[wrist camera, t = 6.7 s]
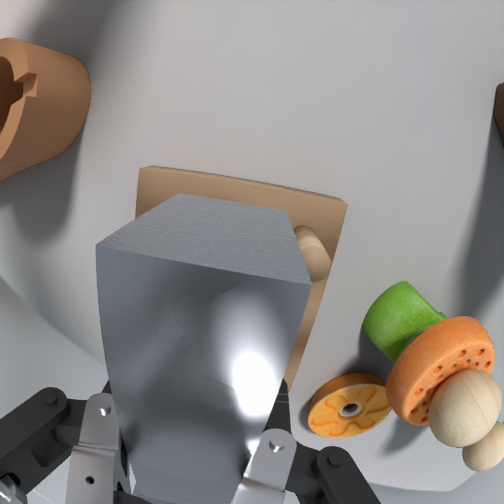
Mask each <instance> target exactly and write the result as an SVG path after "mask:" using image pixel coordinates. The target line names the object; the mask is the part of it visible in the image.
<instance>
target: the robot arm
mask: <svg viewBox="0 0 504 504" xmlns="http://www.w3.org/2000/svg"><path fill="white" fill-rule="evenodd" d="M70 455H71V459H70V466H69V474H68V482H67V492H66V504H152V503H150V502H148V501H146V500H144V499H142V498H140V497H137V496H134V495H131V488H130V481H129V458H128V455H127V451H126V448H125V445H124V441H123V438H122V434H121V430H120V426H119V422H118V418H117V414H116V410H115V406H114V401H113V397H112V392H111V387H110V382H109V380H108V382H107V384H106V385H105V387H104V389H103V391H102V392H101V393H98V394H95V395H92V396H91V397H90V398H89V399H88V400H75V399H67V398H66V395H65V394H64V393H63V391H61V390H60V389H58V388H53V387H48V388H44V389H42V390H40V391H39V392H38V393H36V394H35V395H33V396H32V397H31V398H29V399H28V400H27V401H25V402H24V403H22V404H21V405H20V406H18V407H17V408H15V409H14V410H13V411H11V412H10V413H8V414H7V415H6V416H4V417H3V418H1V419H0V504H27V502H28V501H27V496H26V495H27V494H28V493H29V492H30V491H31V490H32V489H33V488H34V487H36V486H37V485H38V484H39V483H40V482H41V481H42V480H44V479H45V478H46V477H47V476H48V475H49V474H50V473H51V472H53V471H54V470H55V469H56V468H57V467H58V466H59V465H60V464H62V463H63V462H64V461H65V460H66V459H67V458H68V457H69V456H70ZM284 490H287V491H290V492H294V493H295V494H296V496H297V497H298V500H299V502H300V504H381V503H380V502H379V500H378V498H377V497H376V495H375V494H374V492H373V491H372V489H371V487H370V486H369V484H368V483H367V481H366V479H365V478H364V476H363V475H362V473H361V472H360V470H359V468H358V467H357V465H356V464H355V462H354V460H353V459H352V457H351V456H350V454H349V453H348V452H347V451H346V450H344V449H342V448H340V447H336V446H329V447H325V448H323V449H322V450H321V451H319V450H315V449H312V448H309V447H306V446H303V445H302V444H300V443H299V442H297V441H296V440H295V438H294V437H293V435H292V433H291V425H290V411H289V398H288V385H287V383H286V381H285V380H284V378H283V379H282V382H281V385H280V388H279V391H278V393H277V396H276V399H275V402H274V404H273V407H272V410H271V413H270V415H269V418H268V420H267V423H266V426H265V428H264V431H263V433H262V436H261V439H260V441H259V444H258V446H257V449H256V451H255V453H254V456H251V459H250V461H249V464H248V466H247V468H246V471H245V473H244V475H243V478H242V480H241V482H240V485H239V487H238V489H237V491H236V494H235V496H234V498H233V500H232V502H231V504H283V502H284V498H285V491H284Z"/></svg>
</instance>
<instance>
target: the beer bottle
mask: <svg viewBox="0 0 504 504" xmlns="http://www.w3.org/2000/svg"><path fill="white" fill-rule="evenodd" d="M494 117H495V120H496V123H497V126H498V129H499V133H500V136H501V139H502V143H503V146H504V83H501V84H499V85H498V87H497V95H496V102H495V109H494Z"/></svg>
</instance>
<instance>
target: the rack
mask: <svg viewBox="0 0 504 504" xmlns="http://www.w3.org/2000/svg"><path fill="white" fill-rule="evenodd" d="M178 193H183V194H190V195H196V196H203V197H209V198H215V199H221V200H227V201H233V202H239V203H244V204H250V205H256V206H261V207H266V208H272V209H277V210H282V211H287V214H288V217H289V219H290V222H291V225H292V228H293V230H294V233H295V236H296V239H297V242H298V244H299V247H300V250H301V253H302V256H303V259H304V262H305V265H306V268H307V271H308V274H309V277H310V280H311V283H312V288H311V291H310V295H309V298H308V302H307V305H306V308H305V312H304V315H303V318H302V322H301V325H300V328H299V331H298V334H297V337H296V341H295V344H294V347H293V350H292V353H291V356H290V359H289V362H288V365H287V368H286V371H285V374H284V376H283V378H284V380H285V381H286V383H287V385H288V393H289V390H290V388H291V385H292V382H293V380H294V377H295V374H296V372H297V369H298V366H299V364H300V361H301V358H302V355H303V353H304V350H305V347H306V344H307V341H308V338H309V335H310V332H311V330H312V327H313V324H314V321H315V318H316V314H317V311H318V308H319V305H320V302H321V299H322V296H323V292H324V289H325V286H326V283H327V279H328V276H329V272H330V269H331V266H332V262H333V259H334V255H335V251H336V248H337V244H338V241H339V237H340V233H341V229H342V225H343V221H344V218H345V214H346V210H347V205H348V204H347V203H345V202H344V201H342V200H341V199H340V198H336V197H332V196H327V195H323V194H318V193H314V192H309V191H304V190H300V189H295V188H290V187H285V186H280V185H274V184H269V183H264V182H258V181H253V180H247V179H241V178H235V177H229V176H223V175H217V174H210V173H204V172H197V171H190V170H182V169H175V168H167V167H158V166H148V167H143V168H140V169H139V178H138V189H137V200H136V214H135V219H136V218H138V217H139V216H141V215H143V214H144V213H146V212H148V211H149V210H151V209H152V208H154V207H156V206H157V205H159V204H161V203H163V202H164V201H166V200H168V199H169V198H171V197H173V196H174V195H176V194H178Z"/></svg>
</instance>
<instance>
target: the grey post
mask: <svg viewBox="0 0 504 504" xmlns="http://www.w3.org/2000/svg"><path fill="white" fill-rule="evenodd" d="M96 272H97V289H98V302H99V313H100V323H101V331H102V339H103V346H104V353H105V359H106V365H107V371H108V376H109V382H110V387H111V392H112V397H113V401H114V406H115V410H116V414H117V418H118V422H119V426H120V430H121V434H122V438H123V441H124V445H125V448H126V451H127V455H128V458H129V461H130V464H131V467H132V470H133V473H134V476H135V479H136V485H135V488H134V491H133V494H132V495H134V496H137V497H140V498H142V499H144V500H146V501H148V502H150V503H152V504H231V502H232V500H233V498H234V496H235V494H236V491H237V489H238V487H239V485H240V482H241V480H242V478H243V475H244V473H245V471H246V468H247V466H248V464H249V461H250V459H251V456H254V453H255V451H256V449H257V446H258V444H259V441H260V439H261V436H262V433H263V431H264V428H265V426H266V423H267V420H268V418H269V415H270V413H271V410H272V407H273V404H274V402H275V399H276V396H277V393H278V391H279V388H280V385H281V382H282V379H283V376H284V374H285V371H286V368H287V365H288V362H289V359H290V356H291V353H292V350H293V347H294V344H295V341H296V337H297V334H298V331H299V328H300V325H301V322H302V318H303V315H304V312H305V308H306V305H307V302H308V298H309V295H310V291H311V288H312V283H311V280H310V277H309V274H308V271H307V268H306V265H305V262H304V259H303V256H302V253H301V250H300V247H299V244H298V242H297V239H296V236H295V233H294V230H293V228H292V225H291V222H290V219H289V217H288V214H287V211H282V210H277V209H272V208H266V207H261V206H256V205H250V204H244V203H239V202H233V201H227V200H221V199H215V198H209V197H203V196H196V195H190V194H183V193H178V194H176V195H174V196H173V197H171V198H169V199H168V200H166V201H164V202H163V203H161V204H159V205H157V206H156V207H154V208H152V209H151V210H149V211H148V212H146V213H144V214H143V215H141V216H139V217H138V218H136V219H135V220H133V221H131V222H130V223H128V224H127V225H125V226H124V227H122V228H120V229H119V230H117V231H116V232H114V233H113V234H111V235H110V236H108V237H107V238H105V239H104V240H102V241H101V242H99V243H98V244H96Z"/></svg>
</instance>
